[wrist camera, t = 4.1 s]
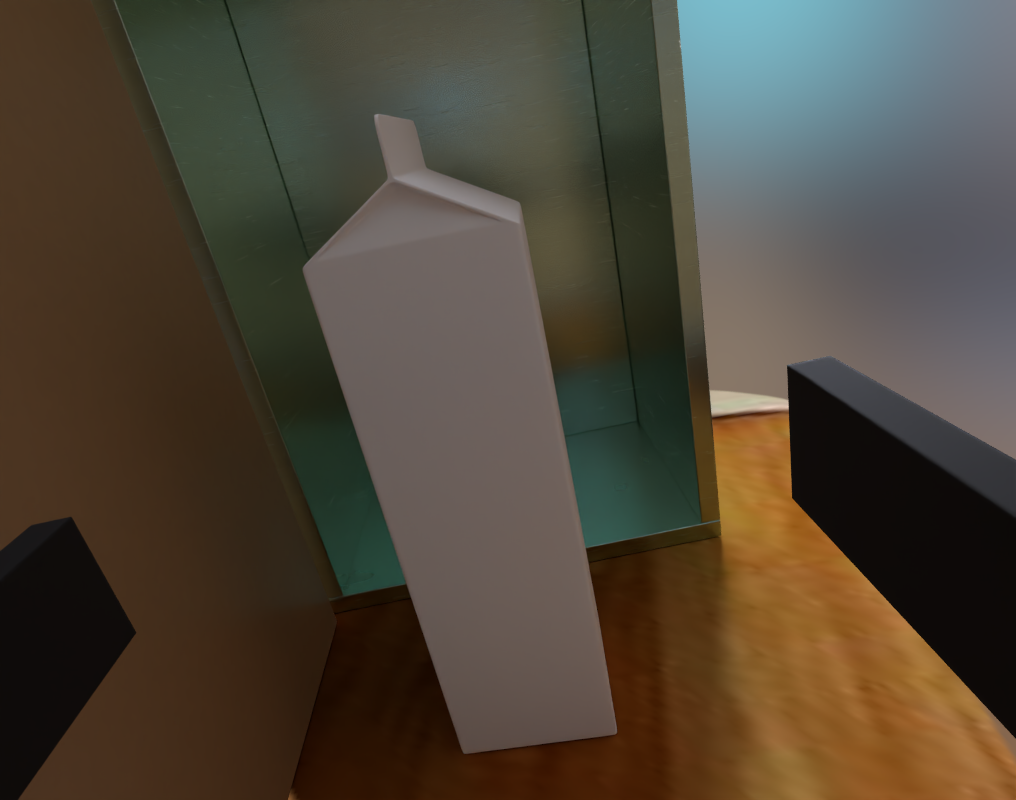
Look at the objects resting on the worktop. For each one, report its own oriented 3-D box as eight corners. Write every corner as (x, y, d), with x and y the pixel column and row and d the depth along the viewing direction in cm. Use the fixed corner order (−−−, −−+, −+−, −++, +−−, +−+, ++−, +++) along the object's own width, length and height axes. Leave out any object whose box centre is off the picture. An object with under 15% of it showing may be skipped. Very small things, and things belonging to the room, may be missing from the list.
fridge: (721, 536, 32) (648, -359, 19) (330, 614, 33) (4, -202, 20) (650, 425, 45) (577, -153, 32) (371, 482, 46) (190, -63, 33)
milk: (463, 757, 23) (248, 142, 15) (473, 638, 29) (322, 141, 21) (622, 736, 23) (493, 84, 14) (602, 618, 28) (500, 99, 20)
